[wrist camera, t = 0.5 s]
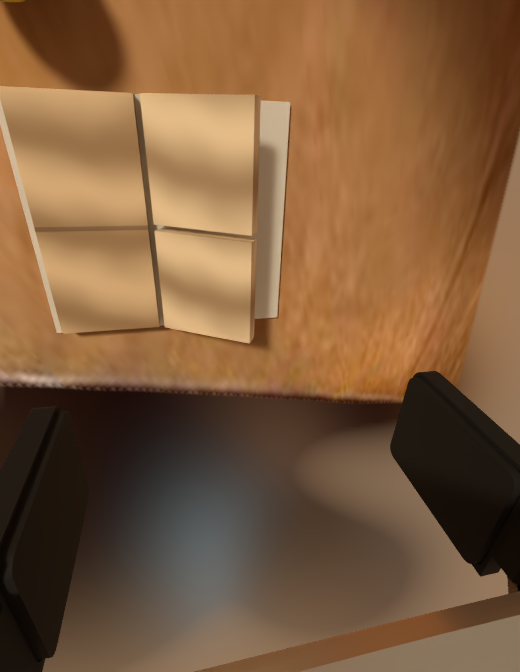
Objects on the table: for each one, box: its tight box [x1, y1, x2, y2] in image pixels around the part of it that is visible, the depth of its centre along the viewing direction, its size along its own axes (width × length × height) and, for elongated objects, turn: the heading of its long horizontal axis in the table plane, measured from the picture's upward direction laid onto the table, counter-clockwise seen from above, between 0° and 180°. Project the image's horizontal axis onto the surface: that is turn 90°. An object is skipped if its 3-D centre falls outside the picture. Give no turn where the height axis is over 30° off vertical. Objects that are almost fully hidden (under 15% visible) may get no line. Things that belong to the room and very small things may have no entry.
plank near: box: [140, 93, 261, 236], centre depth 26 cm, size 8×8×1 cm
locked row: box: [0, 86, 160, 334], centre depth 28 cm, size 18×8×1 cm, turn 177°
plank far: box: [154, 228, 257, 344], centre depth 30 cm, size 8×8×1 cm
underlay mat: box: [0, 94, 290, 333], centre depth 30 cm, size 18×20×1 cm
